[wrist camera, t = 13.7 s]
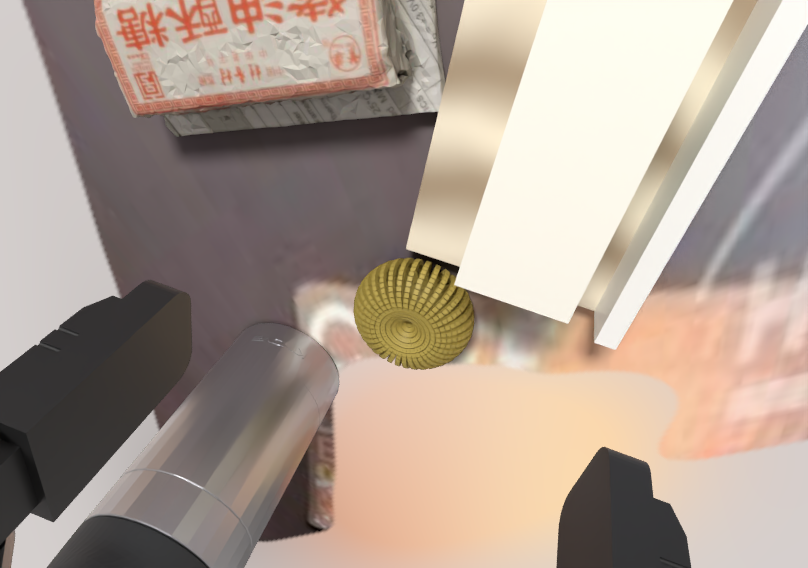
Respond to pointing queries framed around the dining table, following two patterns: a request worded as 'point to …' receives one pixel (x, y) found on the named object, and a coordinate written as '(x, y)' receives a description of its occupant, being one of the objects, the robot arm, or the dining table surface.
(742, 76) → the rail
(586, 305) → the shelf board
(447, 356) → the sculpture
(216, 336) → the dining table surface
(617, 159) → the carton
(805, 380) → the dining table surface
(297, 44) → the packaged product
